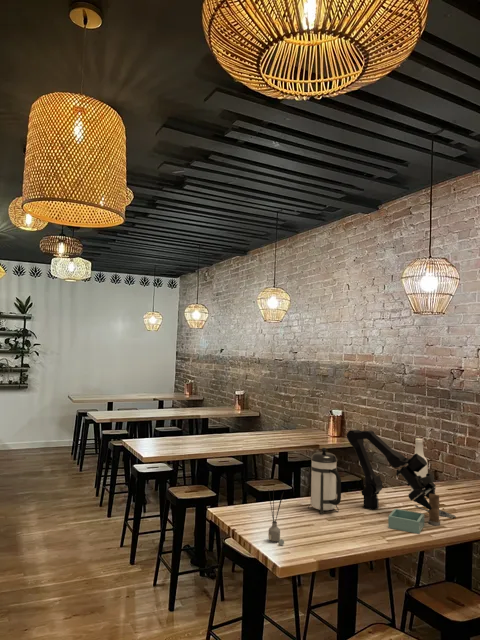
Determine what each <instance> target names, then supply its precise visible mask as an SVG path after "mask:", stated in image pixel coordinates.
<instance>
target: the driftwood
mask: <svg viewBox="0 0 480 640" xmlns="http://www.w3.org/2000/svg"><path fill="white" fill-rule="evenodd" d="M414 507H416V508H418V509H421V510H423V511H426V512H429V509H425V507H421V506H418V505H416V504H415V505H414ZM439 517H443V518H447V519H451V520H452V519H453V518H456V517H457V516H456V515H454V514H452V513H449V512H447V511H445V510H441V509H439Z"/></svg>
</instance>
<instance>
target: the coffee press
mask: <svg viewBox="0 0 480 640" xmlns="http://www.w3.org/2000/svg"><path fill="white" fill-rule="evenodd" d="M310 460H311V464H310V465H311V466H310V504H309V505H308V506H307V508H308V509H309V510H311V509H312V508H314V509H316V510H319V515H324V511H331V510H334V511H335V512H336V513H339V511H340V509H339V507H338V506H339V504H341V501H342V477H341V475H340V473H339V471H338V466H337V462H338V458H337V457H336V455H335V454H333V453H332V452H327V448H326V447H322V449H321V451H317V452H314V453H313V454H312V455H311V457H310ZM310 506H311V507H310Z"/></svg>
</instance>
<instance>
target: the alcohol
mask: <svg viewBox="0 0 480 640" xmlns="http://www.w3.org/2000/svg"><path fill="white" fill-rule="evenodd" d="M414 442H415V447H414V454H416V453H417V454H418V455H419V456H421V457H422V458H424V459H425V460H426V462H427V465H426V466H425V467H424V468H423V469H421V470H420V471H419V472H416V471H415V473H416V475H417V476H421V477H422V478H423V477H426V474H428V472H429V470H428V466H429V465H428V459H427V458H426V457H425V453H424V444H423V443H424V439H423V438H420V437H419V438H417V437H416V438H415V441H414ZM410 491H411V492H412V491H413V489H412V488H411V487H410ZM411 492H410V493H411ZM425 495H426V494H425Z"/></svg>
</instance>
